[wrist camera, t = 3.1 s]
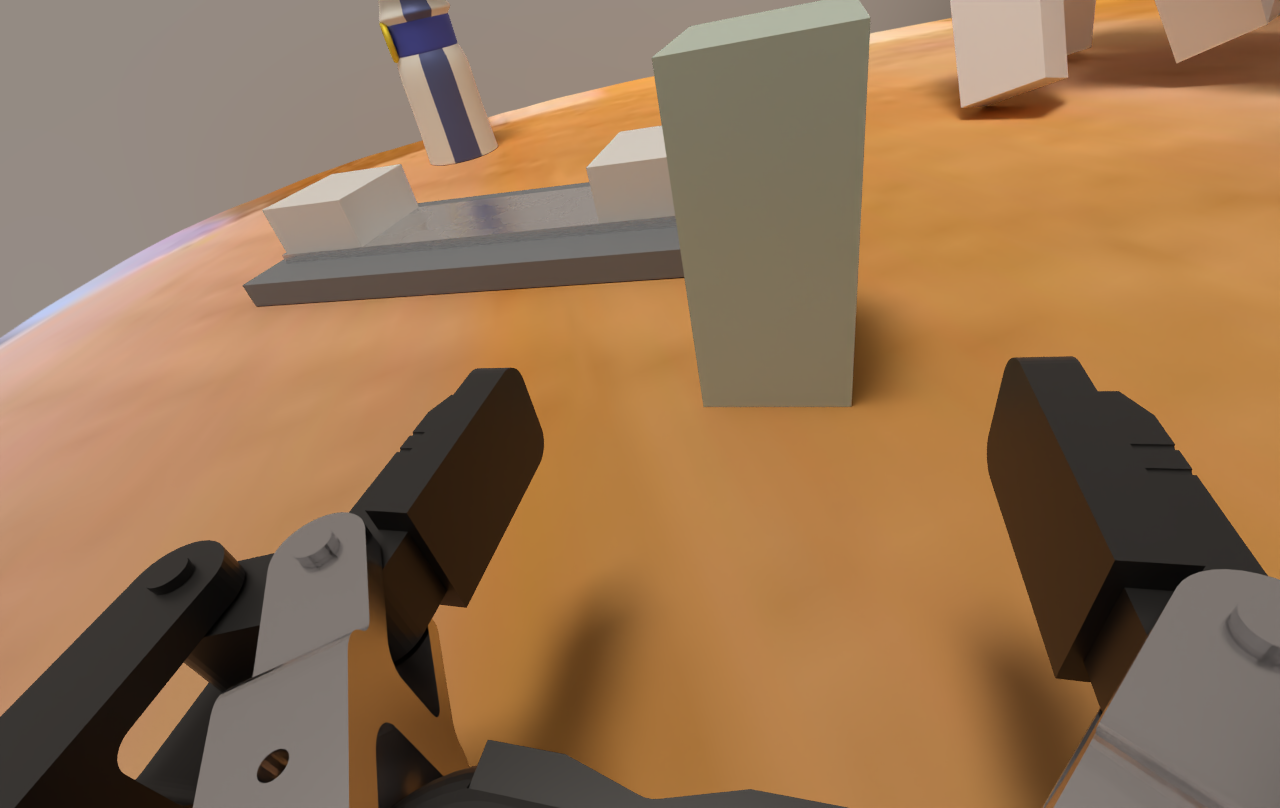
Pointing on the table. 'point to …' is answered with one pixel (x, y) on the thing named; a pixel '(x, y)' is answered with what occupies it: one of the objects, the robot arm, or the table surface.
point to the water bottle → (436, 80)
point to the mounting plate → (491, 224)
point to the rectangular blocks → (380, 197)
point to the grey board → (476, 266)
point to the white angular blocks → (1072, 38)
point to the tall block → (769, 197)
